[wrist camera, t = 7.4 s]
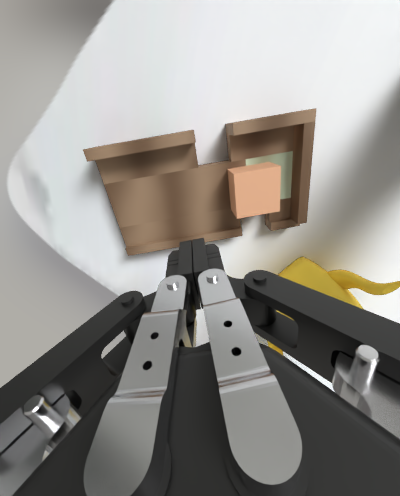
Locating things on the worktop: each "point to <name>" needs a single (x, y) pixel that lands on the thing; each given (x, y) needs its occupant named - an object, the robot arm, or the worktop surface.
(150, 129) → the worktop surface
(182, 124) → the worktop surface
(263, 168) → the block
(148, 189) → the box
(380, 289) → the teapot
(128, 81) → the worktop surface
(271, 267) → the worktop surface
